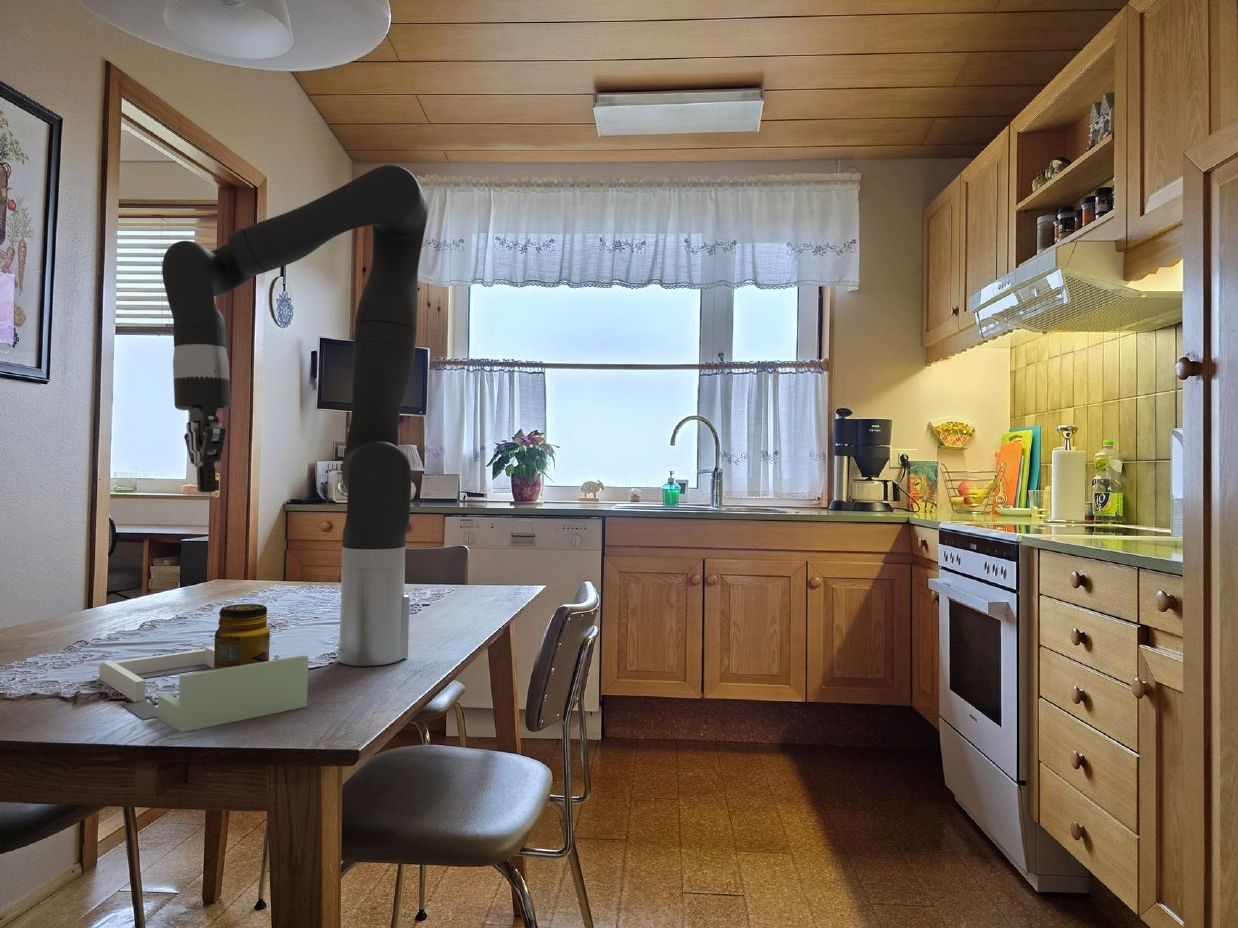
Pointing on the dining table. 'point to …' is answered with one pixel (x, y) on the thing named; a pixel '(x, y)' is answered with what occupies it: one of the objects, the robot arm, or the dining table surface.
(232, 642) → the condiment
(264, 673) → the track
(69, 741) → the dining table surface
